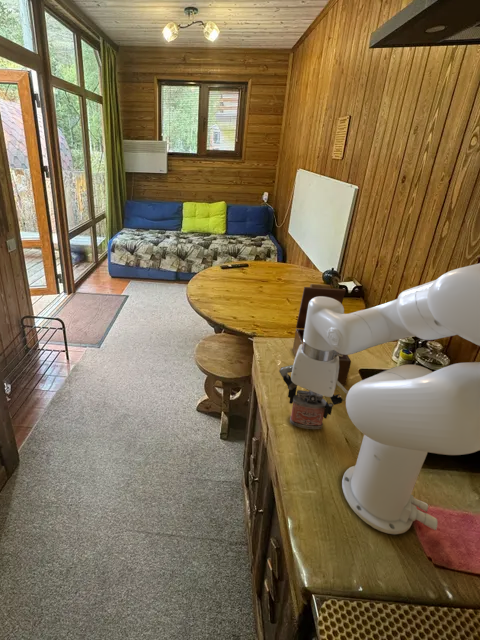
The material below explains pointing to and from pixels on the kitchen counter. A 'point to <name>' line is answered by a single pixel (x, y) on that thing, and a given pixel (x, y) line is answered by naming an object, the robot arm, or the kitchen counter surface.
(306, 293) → the lid
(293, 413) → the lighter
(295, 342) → the chest
